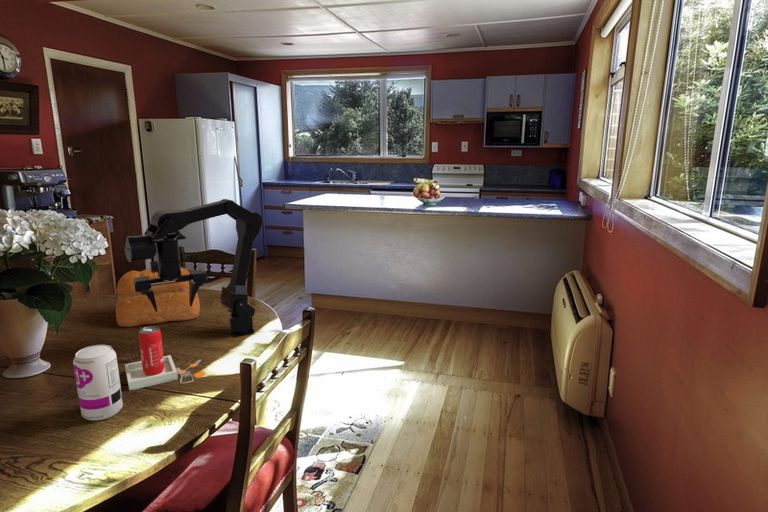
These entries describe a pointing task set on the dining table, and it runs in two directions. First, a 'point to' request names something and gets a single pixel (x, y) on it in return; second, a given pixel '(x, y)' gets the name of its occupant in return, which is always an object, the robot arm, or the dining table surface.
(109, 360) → the supplement can
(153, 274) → the bread
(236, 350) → the dining table surface
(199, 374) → the key chain
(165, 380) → the tray
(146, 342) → the beverage can
